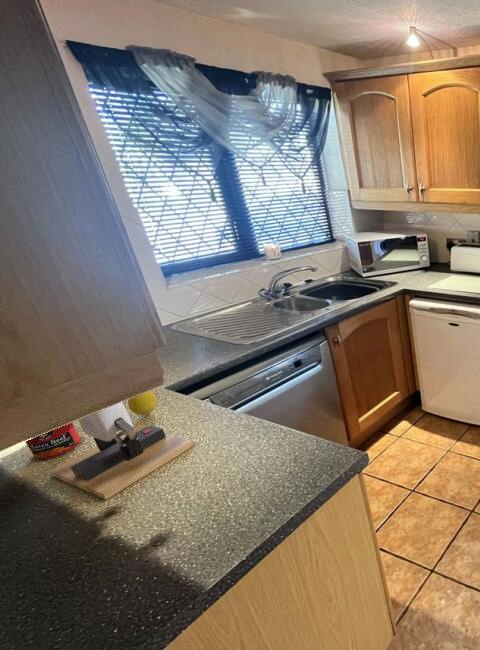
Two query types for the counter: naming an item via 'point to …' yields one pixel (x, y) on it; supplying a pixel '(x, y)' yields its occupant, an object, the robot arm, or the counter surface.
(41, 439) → the canned food
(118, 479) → the board
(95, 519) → the counter surface
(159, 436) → the remote
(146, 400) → the lemon
